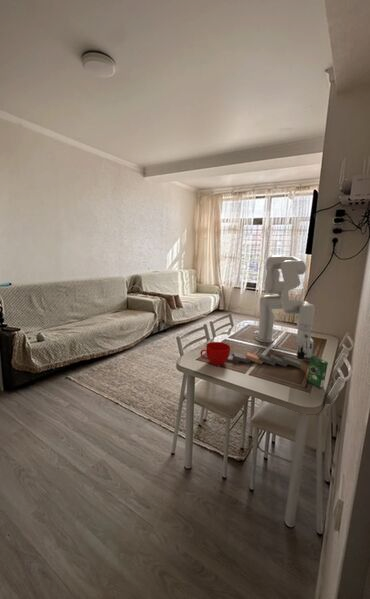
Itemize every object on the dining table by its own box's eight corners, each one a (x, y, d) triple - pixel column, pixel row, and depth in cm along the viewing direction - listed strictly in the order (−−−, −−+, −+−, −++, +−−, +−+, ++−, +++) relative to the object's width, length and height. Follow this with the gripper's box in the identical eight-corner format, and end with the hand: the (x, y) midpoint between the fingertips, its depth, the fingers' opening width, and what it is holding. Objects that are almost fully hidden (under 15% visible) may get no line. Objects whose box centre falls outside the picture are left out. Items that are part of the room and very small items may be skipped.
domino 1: (238, 363, 157) (222, 361, 158) (238, 359, 162) (222, 358, 163) (239, 360, 157) (222, 358, 158) (238, 356, 162) (222, 355, 163)
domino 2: (249, 363, 156) (233, 359, 156) (247, 359, 161) (232, 355, 161) (250, 360, 156) (234, 356, 155) (248, 356, 161) (233, 352, 160)
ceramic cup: (194, 361, 156) (195, 343, 154) (221, 357, 163) (222, 340, 161) (205, 371, 145) (206, 352, 143) (233, 366, 151) (234, 349, 149)
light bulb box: (311, 358, 168) (314, 341, 165) (299, 357, 169) (302, 339, 167) (307, 351, 178) (310, 335, 176) (296, 350, 179) (298, 334, 177)
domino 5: (286, 367, 154) (270, 360, 154) (284, 363, 159) (269, 357, 159) (287, 363, 153) (272, 357, 154) (285, 360, 158) (270, 354, 159)
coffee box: (324, 387, 132) (328, 361, 130) (320, 388, 131) (323, 362, 129) (311, 380, 140) (314, 355, 137) (306, 380, 139) (310, 355, 136)
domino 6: (299, 368, 153) (283, 362, 153) (297, 364, 158) (281, 358, 158) (301, 364, 152) (285, 359, 153) (298, 361, 157) (283, 355, 158)
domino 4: (274, 365, 155) (258, 359, 155) (272, 362, 159) (257, 356, 160) (275, 362, 154) (260, 356, 154) (274, 359, 159) (259, 353, 159)
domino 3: (261, 364, 156) (246, 358, 156) (260, 360, 161) (245, 354, 161) (263, 361, 155) (247, 355, 156) (262, 357, 160) (246, 351, 161)
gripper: (316, 331, 143) (311, 365, 146) (308, 323, 157) (304, 354, 161) (300, 329, 144) (296, 363, 148) (294, 322, 158) (290, 352, 162)
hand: (300, 358), depth 154 cm, fingers closed
